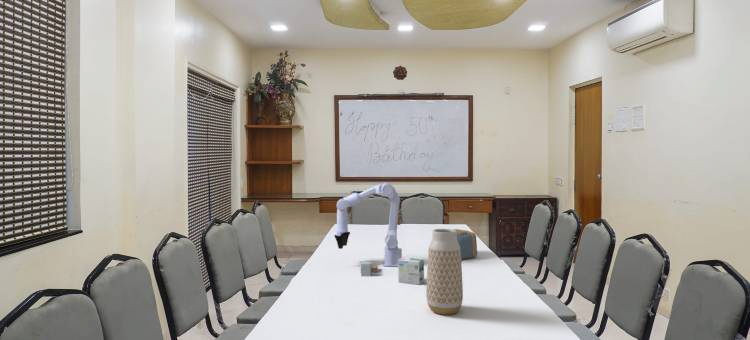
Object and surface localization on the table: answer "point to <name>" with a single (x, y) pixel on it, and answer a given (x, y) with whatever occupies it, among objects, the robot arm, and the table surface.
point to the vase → (444, 273)
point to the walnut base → (374, 268)
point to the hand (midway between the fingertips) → (342, 246)
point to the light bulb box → (411, 270)
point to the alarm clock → (467, 244)
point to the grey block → (366, 269)
